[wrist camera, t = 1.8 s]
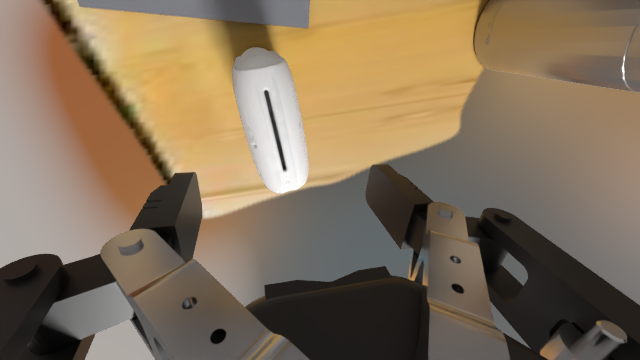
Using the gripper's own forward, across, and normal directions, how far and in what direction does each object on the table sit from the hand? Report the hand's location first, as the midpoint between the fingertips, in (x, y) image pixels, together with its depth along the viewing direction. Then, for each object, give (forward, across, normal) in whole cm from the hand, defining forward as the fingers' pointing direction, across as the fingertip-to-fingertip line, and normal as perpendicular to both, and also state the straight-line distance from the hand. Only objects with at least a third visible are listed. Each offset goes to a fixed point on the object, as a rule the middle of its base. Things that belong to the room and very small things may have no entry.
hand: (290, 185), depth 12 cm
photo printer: (+18, 0, 0) cm, 19 cm away
